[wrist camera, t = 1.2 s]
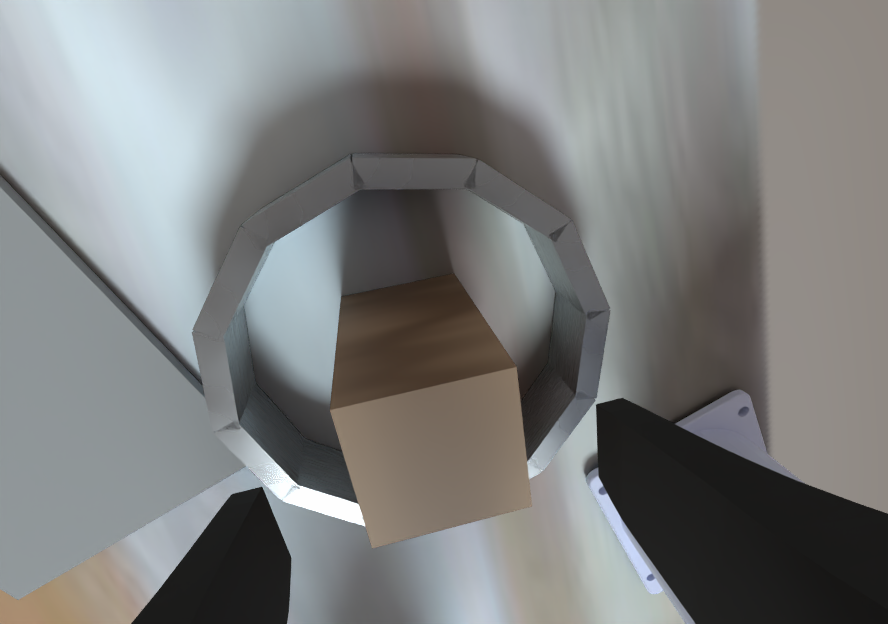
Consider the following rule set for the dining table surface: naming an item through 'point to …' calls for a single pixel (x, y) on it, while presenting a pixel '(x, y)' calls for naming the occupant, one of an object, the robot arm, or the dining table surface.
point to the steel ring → (223, 317)
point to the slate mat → (85, 411)
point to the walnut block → (426, 411)
